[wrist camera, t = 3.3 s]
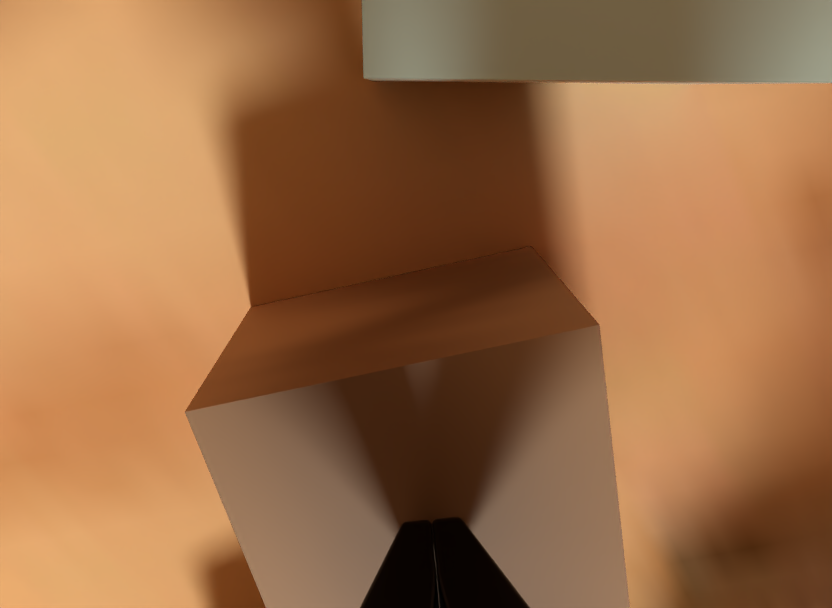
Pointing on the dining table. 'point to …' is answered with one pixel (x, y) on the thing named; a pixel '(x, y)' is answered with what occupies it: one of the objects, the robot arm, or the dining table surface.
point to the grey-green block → (598, 41)
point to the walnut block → (418, 432)
